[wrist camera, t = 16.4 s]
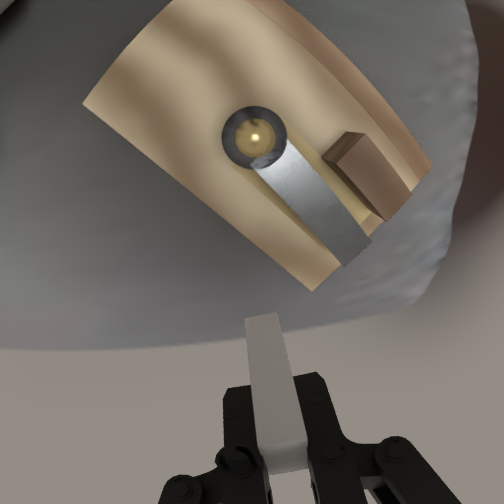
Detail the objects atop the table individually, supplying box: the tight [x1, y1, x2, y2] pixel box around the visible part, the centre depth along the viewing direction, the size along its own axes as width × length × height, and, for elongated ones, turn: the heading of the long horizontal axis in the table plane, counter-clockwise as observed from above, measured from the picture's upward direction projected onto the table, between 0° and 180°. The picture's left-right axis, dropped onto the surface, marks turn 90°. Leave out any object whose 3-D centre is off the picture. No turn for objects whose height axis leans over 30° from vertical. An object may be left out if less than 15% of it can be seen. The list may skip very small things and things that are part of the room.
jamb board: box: [83, 0, 433, 291], centre depth 20 cm, size 16×25×5 cm, turn 47°
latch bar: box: [221, 106, 372, 267], centre depth 20 cm, size 13×4×4 cm, turn 43°
